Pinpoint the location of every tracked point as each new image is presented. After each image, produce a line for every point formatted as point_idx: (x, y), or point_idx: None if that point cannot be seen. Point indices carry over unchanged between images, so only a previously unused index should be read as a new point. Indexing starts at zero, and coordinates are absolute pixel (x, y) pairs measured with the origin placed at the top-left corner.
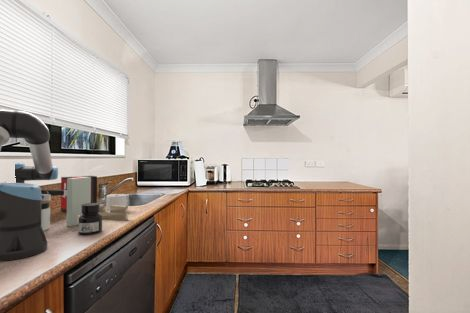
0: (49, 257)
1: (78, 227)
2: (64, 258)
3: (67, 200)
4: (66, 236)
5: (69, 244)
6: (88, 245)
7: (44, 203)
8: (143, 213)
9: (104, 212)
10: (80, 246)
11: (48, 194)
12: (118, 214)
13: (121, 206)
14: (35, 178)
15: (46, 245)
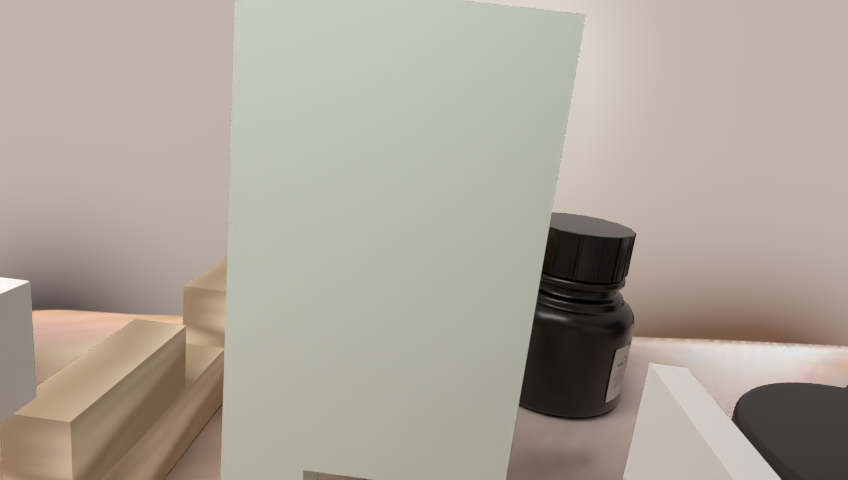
0: (842, 378)
1: (621, 374)
2: (799, 350)
3: (531, 316)
4: None
5: (728, 384)
6: (681, 343)
7: (828, 388)
8: (45, 315)
9: (199, 377)
10: (708, 354)
11: (679, 391)
12: None
13: None
14: None
15: None
